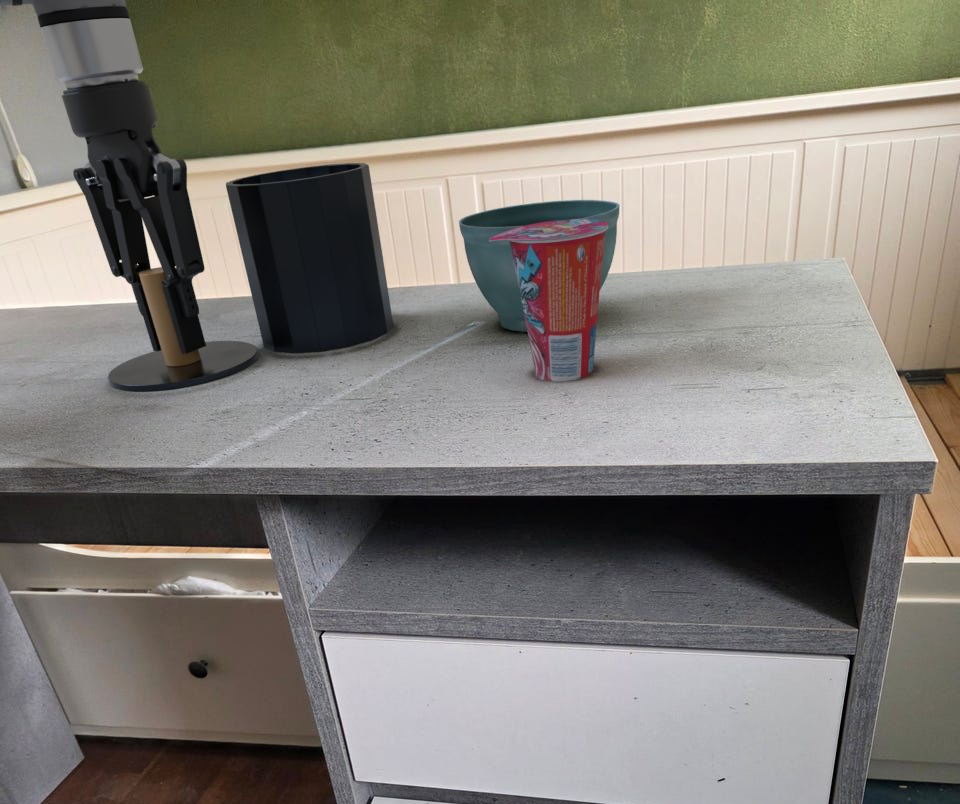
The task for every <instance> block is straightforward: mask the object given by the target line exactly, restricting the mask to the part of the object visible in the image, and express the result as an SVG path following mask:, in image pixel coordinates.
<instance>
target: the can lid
mask: <svg viewBox="0 0 960 804" xmlns="http://www.w3.org/2000/svg"><path fill="white" fill-rule="evenodd" d="M175 268H176V266H175ZM139 276H140V280H141V283H142V286H143V290H144V293H145V296H146V300H147V303H148V306H149V310H150V313H151V316H152V320H153V323H154V326H155V330H156V333H157V336H158V340H159V343H160V346H161V351H151V352H147V353H144V354H142V355H141V354H140V355H139V356H136V357H133V358H131V359H128V360H127V361H126V360H125V361H124V362H122V363H120V364H119V365H117V366H115V367H114V368H112V369H111V370H110V371H109V373H108V374H107V379H108V382H109V384H110V385H111V386H112V387H113V388H115V389H118V390H122V391H127V392H154V391H164V390H165V391H166V390H173V389H180V388H185V387H190V386H191V387H192V386H196V385H200V384H205V383H208V382H211V381H215V380H218V379H223V378H224V377H228V376H230V375H232V374H236V373H238V372H240V371H243V370H244V369H246V368H248V367H249V366H251V365H252V364H254V363H255V362H256V361H257V360H258V358H259V350H258V348H257V346H255V344H253V343H250V342H246V341H238V340H212V341H205V343H206V346H205V347H202V348H200V349H197V350H195V351H192V352H190V353H187V354H185V353H182V352H181V349H180V345H179V342H178V339H177V335H176V332H175V328H174V325H173V321H172V318H171V314H170V311H169V307H168V304H167V300H166V297H165V294H164V290H163V287H162V286H164V285H163V284H162V283H161V281H164V280H167V279H166V277H165V274H164V272H163V269H162V267H161V266H158V267H154V268H151V269H148V270H145V271H142V272H140V273H139Z"/></svg>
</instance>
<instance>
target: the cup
mask: <svg viewBox="0 0 960 804" xmlns="http://www.w3.org/2000/svg"><path fill="white" fill-rule="evenodd" d="M607 229H608V222H606V221H603V220H596V219H572V220H558V221H549V222H542V223H536V224H530V225H526V226H522V227H518V228H515V229H512V230H509V231H506V232H503V233H500V234H498V235H495V236H493V237H492V238H490V239H489V241H496V240H509V241H510V246H511V251H512V256H513V261H514V266H515V271H516V276H517V281H518V286H519V291H520V296H521V301H522V306H523V311H524V316H525V321H526V326H527V336H528V342H529V346H530V352H531V357H532V363H533V365H534V366H533V368H534V372H535V377H536V378H538V379H539V380H542V381H546V382H556V383H557V382H570V381H575V380H579V379H583V378H586V377H588V376H590V375H591V374H592V373H593V372H594V361H595V351H596V337H597V326H598V315H599V303H600V294H601V293H600V292H601V290H600V282H601V273H602V263H603V253H604V242H605V232H606V230H607Z"/></svg>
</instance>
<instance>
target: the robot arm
mask: <svg viewBox="0 0 960 804" xmlns="http://www.w3.org/2000/svg"><path fill="white" fill-rule="evenodd" d="M23 5H32V7H33V10H34V11H35V14H36V16H37V21H38V24H39V27H40V32H41V35H42V38H43V42H44V45H45V48H46V52H47V55H48V59H49V61H50V66H51V68H52V72H53V75H54V78H55V81H57V82H58V83H61V84H62V83H64V85H65V87H66V90H62V94H61V98H62V102H63V106H64V109H65V111H66V115H67V117H68V121H69V124H70V128H71V131H72V133H73V134H74V135H75V136H76V137H77V138H82V139H83V138H84V139H85V142H86V147H87V160H88V162H87V163H86V164H85V165H84V167H78V168H77V167H76V168H74V169H73V171H72V173H73V178H74V180H75V181H76V183H77V185H78V187H79V189H80V190H81V192H82V194H83V195H84V198H85V200H86V203H87V207H88V209H89V211H90V214H91V217H92V220H93V223H94V227H95V229H96V231H97V234H98V235H97V236H98V237H99V241H100V242H101V243H100V244H101V246H102V249H103V251H104V255H105V258H106V260H107V263H108V266H109V268H110V273H111V274H112V275H113V276H114V277H115V278H118V277H121V278H123V279H125V281H126V282H127V283H128V284H129V285H131V286H130V287H131V289H132V292H133V295H134V299H135V301H136V304H137V308H138V311H139V313H140V315H141V316H142V318H143V321H144V324H145V328H146V331H147V334H148V338H149V340H150V345H151V347H152V352H154V351H161V346H160V343H159V340H158V336H157V333H156V330H155V326H154V323H153V320H152V316H151V313H150V310H149V306H148V303H147V300H146V296H145V293H144V290H143V286H142V283H141V280H140V276H139V273H140V272H142V271H145V270H148V269H152V268H151V261H150V256H149V249H148V245H147V244H148V243H147V239H146V233H145V229H146V231H147V234H148V237H149V240H150V242H151V244H152V246H153V249H154V252H155V254H156V256H157V259H158V261H159V264H160V267H162V269H163V272H164V274H165V277H166V279H167V280H164V281H161V283H162V284H163V285H164V286H162V287H163V290H164V294H165V297H166V300H167V304H168V307H169V311H170V314H171V318H172V321H173V325H174V328H175V332H176V335H177V339H178V342H179V345H180V349H181V352H182V353H185V354H187V353H190V352H192V351H195V350H197V349H200V348H202V347H205V346H206V343H205V342H206V340H205V336H204V333H203V328H202V324H201V322H200V318H199V315H200V308H199V304H198V299H197V296H196V292H195V289H194V285H193V279H194V277H195V276H197V275H199V274H202V273H204V272H205V264H204V258H203V254H202V250H201V244H200V241H199V237H198V231H197V228H196V223H195V219H194V214H193V213H194V212H193V209H192V205H191V204H192V203H191V199H190V195H189V192H188V166H187V163H186V161H185V160H184V159H183V158H175V159H172V158H170V157H168V156H166V155H164V154H162V150H161V147H160V146H159V144H158V143H157V141H156V139H155V137H154V134H153V129H155V128H156V127H157V125H158V121H159V120H158V117H157V113H156V110H155V105H154V102H153V98H152V93H151V91H150V87H149V84H146V81H145V80H141V81H140V79H139V74H142V73H143V71H144V66H143V62H142V58H141V55H140V50H139V47H138V44H137V40H136V36H135V33H134V29H133V25H132V21H131V18H130V14H129V13H130V12H129V11H128V6H127V3H126V0H0V7H5V6H13V7H15V6H23ZM144 226H145V228H144ZM175 267H176V268H175Z"/></svg>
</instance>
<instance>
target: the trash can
mask: <svg viewBox="0 0 960 804" xmlns="http://www.w3.org/2000/svg"><path fill="white" fill-rule="evenodd" d="M371 177H372V176H371V172H370V165H369V164H367V163H366V162H345V163H333V164H332V163H329V164H321V165H312V166H303V167H297V168H289V169H282V170H275V171H269V172H264V173H258V174H253V175H249V176H244V177H240V178H236V179H232V180H229V181H227V182H226V183H225V188H226V192H227V196H228V201H229V204H230V209H231V213H232V218H233V221H234V227H235V230H236V235H237V238H238V244H239V247H240V252H241V256H242V260H243V264H244V268H245V273H246V276H247V282H248V286H249V289H250V294H251V298H252V302H253V303H252V304H253V308H254V311H255V314H256V319H257V324H258V327H259V332H260V336H261V340H262V344H263V345H262V346H263V349H266V350H268V351H271V352H273V353H280V354H292V355H293V354H296V355H297V354H312V353H313V354H314V353H324V352H329V351H335V350H340V349H347V348H351V347H354V346H358V345H362V344H365V343H369V342H373V341H374V340H377V339H379V338H381V337H383V336H385V335H387V334H388V333H389V332H390V331H391V330H392V329H393V328H394V320H393V319H394V318H393V312H392V307H391V300H390V293H389V287H388V281H387V276H386V275H387V274H386V268H385V262H384V256H383V250H382V249H383V248H382V242H381V237H380V229H379V224H378V223H379V222H378V217H377V210H376V204H375V197H374V191H373V185H372V178H371Z"/></svg>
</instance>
